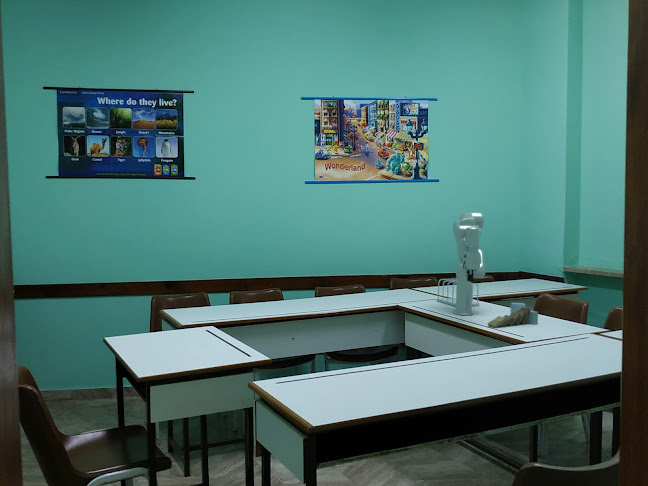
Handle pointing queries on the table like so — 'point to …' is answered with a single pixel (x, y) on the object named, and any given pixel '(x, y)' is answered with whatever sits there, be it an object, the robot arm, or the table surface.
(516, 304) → the medicine box
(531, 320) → the bookend block
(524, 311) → the domino
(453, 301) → the file sorter
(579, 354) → the table surface
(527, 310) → the domino
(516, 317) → the domino
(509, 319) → the domino
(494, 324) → the domino
